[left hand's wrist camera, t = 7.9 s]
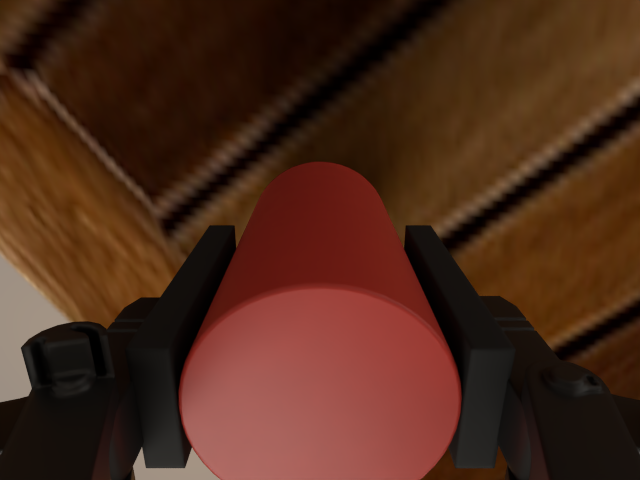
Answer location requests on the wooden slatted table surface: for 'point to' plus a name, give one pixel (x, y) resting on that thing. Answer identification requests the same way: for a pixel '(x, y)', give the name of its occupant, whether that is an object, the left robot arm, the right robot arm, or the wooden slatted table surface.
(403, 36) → the wooden slatted table surface
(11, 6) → the wooden slatted table surface
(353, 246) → the cylinder
